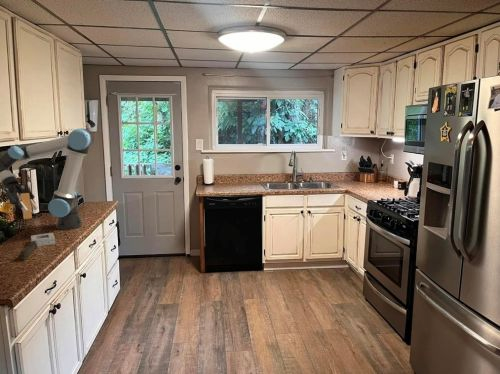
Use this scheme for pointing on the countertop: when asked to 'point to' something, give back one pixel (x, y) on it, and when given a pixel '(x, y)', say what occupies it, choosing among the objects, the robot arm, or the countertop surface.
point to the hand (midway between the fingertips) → (31, 210)
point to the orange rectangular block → (26, 205)
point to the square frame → (43, 239)
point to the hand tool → (28, 250)
